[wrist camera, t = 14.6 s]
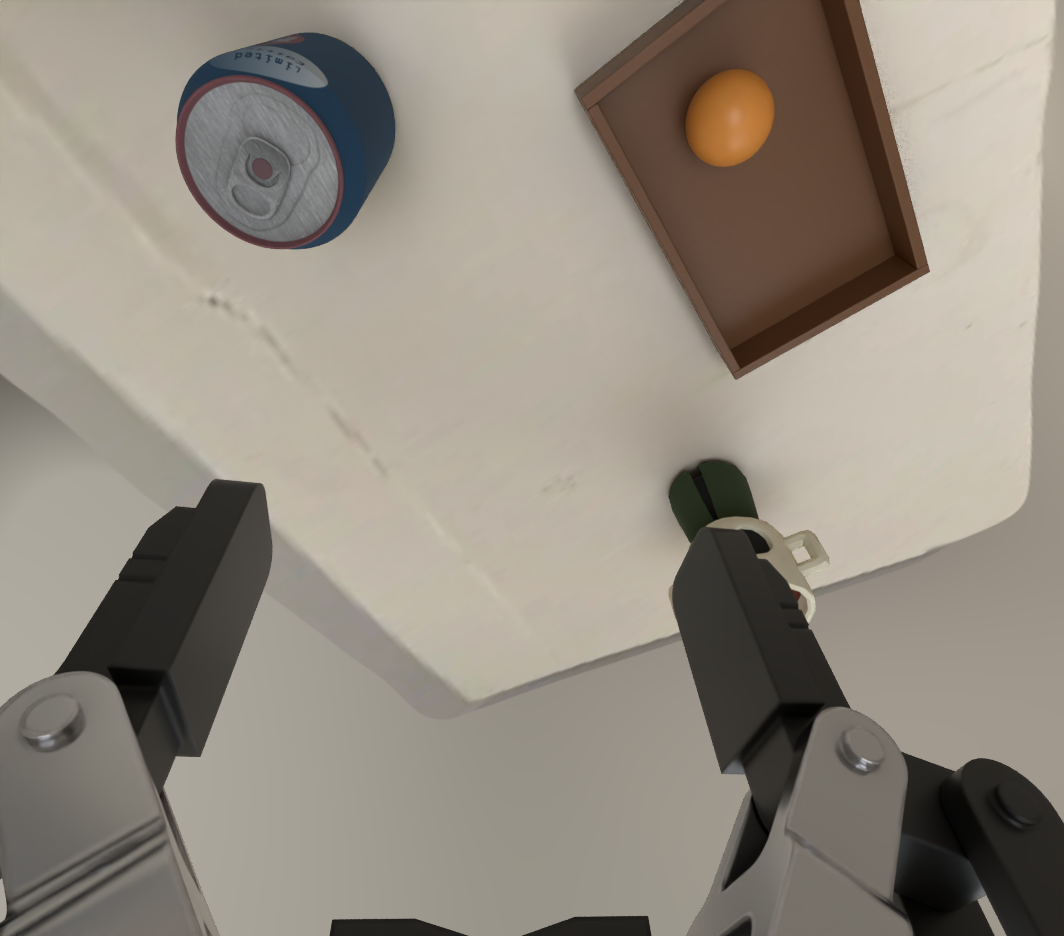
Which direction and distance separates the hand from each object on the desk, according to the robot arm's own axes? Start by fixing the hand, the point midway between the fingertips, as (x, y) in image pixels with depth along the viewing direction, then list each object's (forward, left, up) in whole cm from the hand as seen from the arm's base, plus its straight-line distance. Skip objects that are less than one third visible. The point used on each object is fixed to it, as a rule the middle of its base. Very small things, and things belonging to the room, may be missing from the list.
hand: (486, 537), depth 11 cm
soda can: (-7, -5, -28) cm, 30 cm away
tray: (+9, +12, -28) cm, 32 cm away
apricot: (+5, +12, -28) cm, 30 cm away
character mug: (+29, 0, -28) cm, 41 cm away
